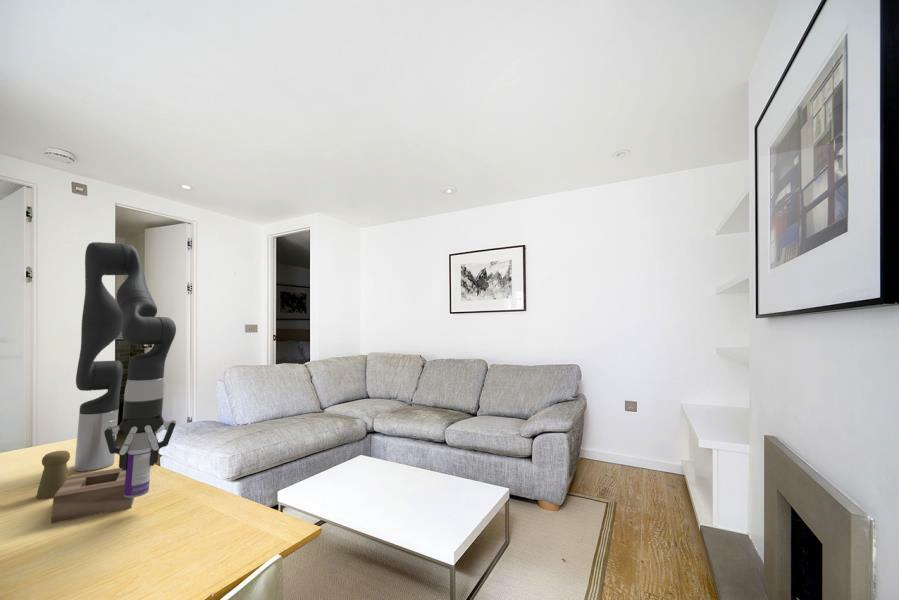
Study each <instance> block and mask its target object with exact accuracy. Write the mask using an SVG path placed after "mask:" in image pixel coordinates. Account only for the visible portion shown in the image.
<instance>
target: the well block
mask: <svg viewBox="0 0 899 600" xmlns="http://www.w3.org/2000/svg"><path fill="white" fill-rule="evenodd" d="M125 476H126V470H123V471H122V468H119V467H118V468H117V467H116V468H110V469H105V470H104V469H103V470H99V471H91V472H84V473H80V474H79V473H78V474H72V475H68V479H67V480H66V481H65V483H64V484H63V485H62V486H61V488H60V489H59V490H58V492H57V493H56V494H55V495H54V497H53V498H52V500H53V501H52V509H51V518H50V524H51V523H52V524H56V523H61V521H62V522H66V521H65V520H67V521H72V520H76V519H82V518H87V517H90V516H91V515H92V516H96V515H95V514H97V515H101V513H102V514H106V513H111V512H116V511H120V510H121V511H122V510H126V509H131V508H132V506H133V503H134V500H135V497H134V498H126V497H124V488H125ZM92 516H91V517H92Z"/></svg>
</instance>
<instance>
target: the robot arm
mask: <svg viewBox="0 0 899 600" xmlns="http://www.w3.org/2000/svg"><path fill="white" fill-rule="evenodd" d="M84 276H85V277H84V280H85V281H84V282H85V286H84V287H85V288H84V299H83V306H82V307H83V309H82V316H81V317H82V318H81V336H80V338H81V341H80V351H79V356H78V357H79V358H78V361H77V362H78V364H77V369H76V376H75V384H76V388H77V389H78V390H79V391H83V392H84V391H85V392H86V391H87V392H88V391H89V392H90V391H103V390H106V392H105V393H104V394H103V395H101V396H98V397H96V398H94V399H90V400H88V401H85V402H83V403H81V404H80V406H79V414H78V424H77V435H76V447H75V457H74V467H73V470H74V471H75V472H89V471H94V470H101V469H103V468H107V467H110V466H112V465H113V464H114V463H115V458H116V457H115V455H118V456H119V458H118V459H119V460H118V468H122V471H123V470H126V465H127V453H128V447H129V445H130V443H131V441H132V439H133V434H135V433H139V432H148V439H149V441H150V443H151V446H152V452H151V464H150V466H151V467H154V466H155V464H156V463H158V461H159V455H160V454H159V453H160V450H161V449H163V448H166V447H168V445H169V443H170V440H171V438H172V435H173V432H174V430H175V426H176V424H177V421H176V420H171V421H170V420H165V419H164V418H163V407H164V405H163V403H164V393H165V381H164V378H165V363H166V361H167V357H168V353H169V350H170V349H171V347H172V344H173V341H174V340H175V336H176V334H177V327H176V324H175V321H174V320H173V319H172V318H170V317H165V316H157V314H158V307H157V304H156V303H155V301H154V299H153V297H152V295H151V293H150V291H149V288H148V286H147V280H146V276H145V272H144V267H143V265H142V261H141V257H140V254H139V252H138V250H137V249H136V248H135V246H134V245H132V244H127V243H121V242H120V243H119V242H117V243H116V242H101V241H98V242H97V241H94V242H90V243H88V245H87V247H86V248H85V255H84ZM104 276H127V278H125V280H124V281H123V282H122V284H120V286H119V287H118V289H117V292H116V295H115V296H116V299H115V297H114V296H113V294H111V293H110V292H109V291H108V289H107V288H106V286H105V285H104V283H103V277H104ZM120 335H121V337H122V339H123V341H125V343H127V344H129V345H131V346H145V345H146V346H147V345H148V346H149V345H151V346H152V348H151V349H150V350H149V351H147V352H143V353H139V354H136V355H133V356H131V357H130V358H129V360H128V366H127V379H126V384H125V388H124V394H123V408H122V419H121V422H120V423H119V425H118V420H119V410H120V408H119V407H120V395H121V394H120V393H121V387H122V380H123V373H124V366H123V363H122V361H120V360H97V361H95V360H96V358H97V356H98V355H99V354H100V353H101V352H102V351H103V350H104V349H105V348H106V347H108V346H109V345H110V344H111V343H112V342H114V341H115V340H117V338H118V337H119V336H120ZM162 426H164V430H165V435H164V438H163V440H161V441H159V439H158V436H157V432H158V430H160V428H162ZM119 431H121V432H122V433H123V434H124V435H125V436H126V438H125V440H124V442H123V444H122V446H118V443H117V435H118V434H119V433H118V432H119ZM151 437H152V438H151Z"/></svg>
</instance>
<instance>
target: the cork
mask: <svg viewBox="0 0 899 600" xmlns="http://www.w3.org/2000/svg"><path fill="white" fill-rule="evenodd" d="M70 458H71V453H70V452H69V451H67V450H56V451H51V452H49V453H46V454H45V455H44V456H43V457H42V458H41V464H42V466H43V471H42V473H41V478H40V482H39V485H38V489H37V492H36V496H35V498H36V500H40V499H43V500H50V499H53V497H54V495H55V494H56V493H57V492H58V490H59V489H60V488H61V486H62V485H63V484H64V483H65V481H66V480H67V479H68V477H69V475H68V474H69V473H68V464H67V463H68V462H69V461H70Z"/></svg>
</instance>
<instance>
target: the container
mask: <svg viewBox="0 0 899 600" xmlns="http://www.w3.org/2000/svg"><path fill="white" fill-rule="evenodd" d="M151 438H152V437H151ZM127 452H128V453H127V465H126V476H125V488H124V497H126V498H134V499H135V498H139V497H141V496H144V495H146V494H148V493H149V491H150V480H151V470H152V469H151V468H152V466H150V464H151V452H152V446H151V443H150V441H149V439H148V432H139V433H135V434H133V439H132V441H131V443H130V445H129V447H128V449H127Z"/></svg>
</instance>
